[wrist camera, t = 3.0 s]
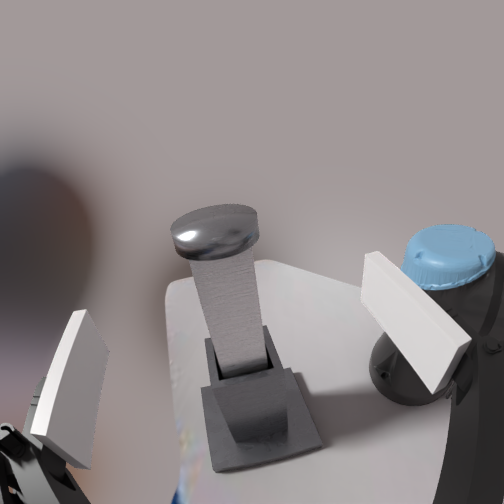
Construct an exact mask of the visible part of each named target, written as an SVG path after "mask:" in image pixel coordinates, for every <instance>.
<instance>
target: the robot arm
mask: <svg viewBox="0 0 504 504" xmlns="http://www.w3.org/2000/svg"><path fill="white" fill-rule="evenodd" d="M360 301H361V302H362V303H363V304H364V306H365V307H366V308H367V309H368V311H369V312H370V313H371V314H372V316H373V317H374V318H375V319H376V321H377V322H378V323H379V324H380V326H381V327H382V328H383V329H384V331H385V332H384V333H383V334H382V336H381V337H380V338H379V340H378V341H377V342H376V344H375V346H374V348H373V351H372V354H371V358H370V363H369V371H370V376H371V379H372V381H373V383H374V385H375V386H376V388H377V389H378V390H379V391H380V392H381V393H382V394H383V395H384V396H386V397H387V398H389V399H390V400H392V401H394V402H397V403H400V404H403V405H410V406H418V405H424V404H428V403H431V402H433V401H435V400H437V399H438V398H440V397H441V396H442V395H443V394H444V393H445V392H446V391H447V389H448V388H449V386H450V384H451V383H452V381H453V380H454V381H455V382H454V384H453V386H452V387H451V389H450V390H449V392H448V393H447V396H446V399H448V398H449V397H450V395H451V394H452V398H451V399H452V403H451V414H450V423H449V431H448V438H447V444H446V450H445V455H444V460H443V465H442V470H441V474H440V479H439V483H438V487H437V490H436V494H435V498H434V501H433V504H502V503H503V498H504V253H500V252H496V251H495V246H494V243H493V241H492V240H491V239H490V237H489V236H487V235H486V234H485V233H483V232H478V231H476V229H474V228H471V227H468V226H463V225H454V224H453V225H452V224H444V225H435V226H431V227H429V228H425V229H423V230H421V231H419V232H417V233H416V234H415V235H414V236H413V237H412V238H411V239H410V241H409V242H408V245H407V248H406V252H405V257H404V262H403V264H402V266H401V269H399V268H397V267H396V266H395V265H394V264H393V263H392V262H391V261H389V260H388V259H387V258H386V257H385V256H384V255H382V254H381V253H380V252H379V251H376V252H372V253H368V254H365V262H364V272H363V282H362V290H361V298H360ZM109 352H110V351H109V350H108V348H107V346H106V344H105V343H104V341H103V339H102V337H101V336H100V334H99V332H98V330H97V329H96V327H95V325H94V323H93V321H92V319H91V317H90V315H89V313H88V311H87V310H79V311H74V312H73V314H72V316H71V318H70V320H69V323H68V325H67V327H66V329H65V332H64V334H63V337H62V339H61V341H60V344H59V346H58V349H57V351H56V354H55V356H54V359H53V361H52V364H51V367H50V370H49V372H48V375H47V377H43V378H42V379H41V381H40V382H39V383H38V385H37V386H36V389H35V392H34V395H33V397H34V398H32V401H31V406H30V407H29V411H28V414H27V418H26V421H25V425H24V428H23V432H22V434H21V433H20V432H19V431H17V429H15V428H14V427H13V426H12V425H11V424H9V423H3V424H1V425H0V504H91V503H90V502H89V500H88V499H87V497H86V496H85V495H84V493H83V492H82V490H81V489H80V487H79V486H78V484H77V483H76V481H75V479H74V478H73V476H72V474H71V473H70V472H69V471H68V469H67V468H66V462H67V463H69V464H70V465H72V466H73V467H74V468H80V469H88V470H90V469H91V458H92V448H93V440H94V433H95V425H96V419H97V412H98V406H99V400H100V395H101V390H102V384H103V379H104V375H105V370H106V365H107V361H108V356H109ZM8 486H10V487H11V488H13V494H12V493H10V492H9V488H8Z"/></svg>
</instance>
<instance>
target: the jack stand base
mask: <svg viewBox="0 0 504 504" xmlns="http://www.w3.org/2000/svg"><path fill="white" fill-rule="evenodd" d="M263 334H264V341H265V348H266V356H267V363H268V370H265V371H261V372H257V373H253V374H248V375H244V376H239V377H235V378H230V379H225V380H224V377H223V374H222V371H221V368H220V365H219V362H218V359H217V356H216V352H215V349H214V346H213V343H212V340H211V338H206V339H205V346H206V354H207V361H208V368H209V375H210V382H211V386H208V387H202V388H201V393H202V401H203V409H204V416H205V423H206V430H207V437H208V443H209V449H210V455H211V461H212V467H213V470H214V471H215V472H216V473H217V472H223V471H229V470H235V469H241V468H246V467H251V466H255V465H260V464H264V463H268V462H273V461H277V460H280V459H284V458H288V457H291V456H295V455H298V454H302V453H305V452H308V451H311V450H314V449H317V448H320V447H322V441H321V438H320V436H319V434H318V431H317V429H316V427H315V424H314V422H313V420H312V417H311V415H310V413H309V410H308V408H307V406H306V403H305V401H304V398H303V396H302V394H301V391H300V389H299V387H298V384H297V382H296V379H295V377H294V375H293V372H292V370H291V368H286V369H283V367H282V364H281V361H280V359H279V356H278V354H277V351H276V349H275V346H274V344H273V341H272V338H271V336H270V333H269V331H268V328H267V326H266V325H265V326H263Z"/></svg>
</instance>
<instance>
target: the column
mask: <svg viewBox="0 0 504 504" xmlns="http://www.w3.org/2000/svg"><path fill="white" fill-rule="evenodd" d="M170 230H171V234H172V238H173V242H174V246H175V249H176V252H177V254H178V255H180V256H181V257H183V258H185V259H189V262H190V266H191V269H192V273H193V277H194V281H195V285H196V288H197V292H198V295H199V299H200V303H201V306H202V309H203V313H204V316H205V320H206V323H207V326H208V330H209V333H210V336H211V340H212V343H213V346H214V349H215V352H216V356H217V359H218V362H219V365H220V368H221V371H222V374H223V377H224V380H225V379H230V378H235V377H239V376H244V375H248V374H253V373H257V372H261V371H265V370H268V363H267V356H266V348H265V341H264V334H263V326H262V319H261V312H260V304H259V297H258V290H257V282H256V275H255V268H254V260H253V253H252V246H253V245H254V244H255V243H256V242H257V240H258V238H259V227H258V219H257V213H256V211H255V210H254V209H253V208H251V207H249V206H245V205H239V204H223V205H215V206H210V207H205V208H201V209H198V210H195V211H192V212H190V213H188V214H185V215H183V216H182V217H180V218H178V219H177V220H176V221H175V222H174V223H173V224H172V226H171V229H170Z"/></svg>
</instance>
